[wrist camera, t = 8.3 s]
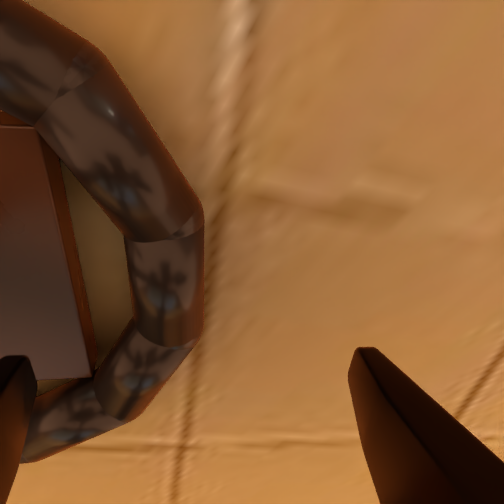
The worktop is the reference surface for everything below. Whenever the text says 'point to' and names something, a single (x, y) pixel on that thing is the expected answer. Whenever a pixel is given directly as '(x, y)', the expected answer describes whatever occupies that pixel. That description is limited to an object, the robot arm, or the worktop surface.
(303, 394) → the worktop surface
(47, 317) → the post
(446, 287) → the worktop surface
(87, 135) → the ring
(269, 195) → the worktop surface
